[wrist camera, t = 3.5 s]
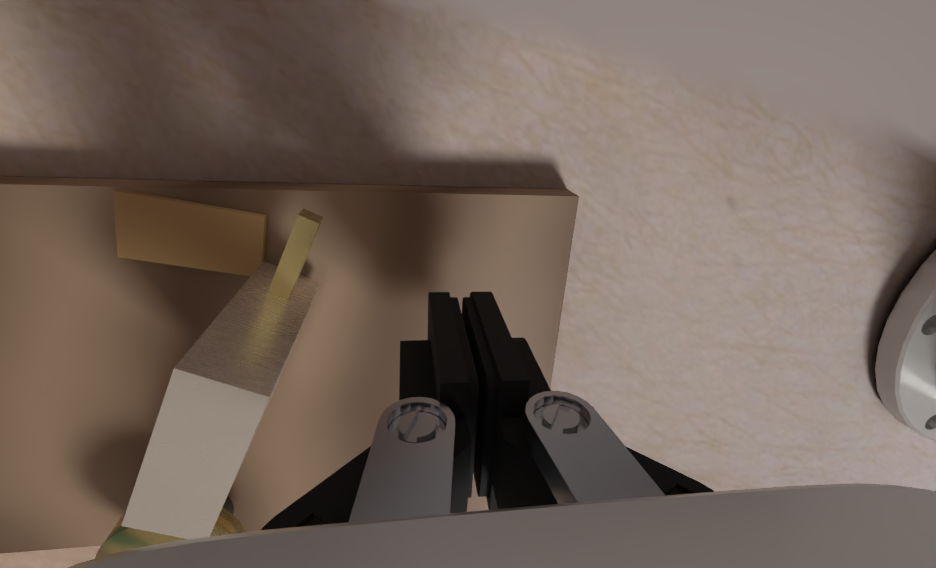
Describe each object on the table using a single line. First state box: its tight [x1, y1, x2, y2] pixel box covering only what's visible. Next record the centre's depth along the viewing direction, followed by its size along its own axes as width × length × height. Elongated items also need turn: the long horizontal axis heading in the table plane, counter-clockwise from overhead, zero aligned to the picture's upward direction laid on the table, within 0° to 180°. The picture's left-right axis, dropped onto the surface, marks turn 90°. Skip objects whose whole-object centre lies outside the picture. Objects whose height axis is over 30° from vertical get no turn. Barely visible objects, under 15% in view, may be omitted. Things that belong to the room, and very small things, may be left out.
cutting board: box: [0, 176, 579, 553], centre depth 14 cm, size 23×13×2 cm, turn 87°
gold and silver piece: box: [95, 208, 323, 559], centre depth 11 cm, size 14×4×5 cm, turn 152°
